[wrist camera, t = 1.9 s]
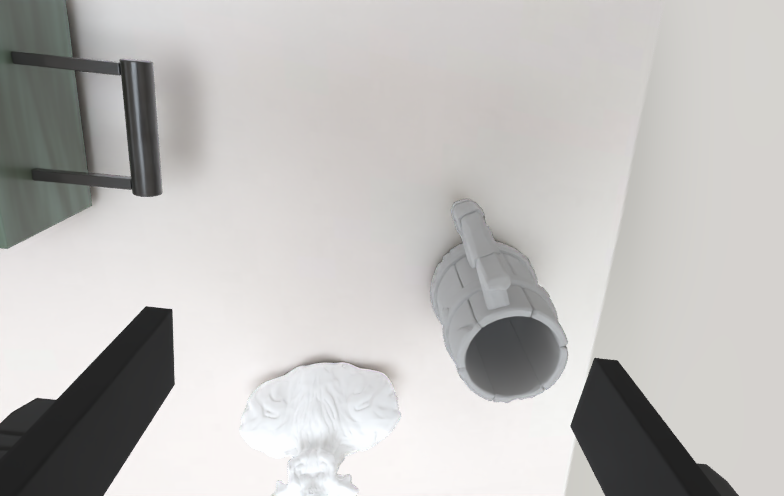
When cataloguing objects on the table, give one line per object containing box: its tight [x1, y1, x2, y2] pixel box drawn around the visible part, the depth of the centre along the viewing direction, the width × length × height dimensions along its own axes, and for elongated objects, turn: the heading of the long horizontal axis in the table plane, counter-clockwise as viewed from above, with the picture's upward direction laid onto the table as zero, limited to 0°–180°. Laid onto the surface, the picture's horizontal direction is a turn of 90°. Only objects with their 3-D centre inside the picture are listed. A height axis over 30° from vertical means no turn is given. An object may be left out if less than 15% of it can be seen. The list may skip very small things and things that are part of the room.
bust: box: [240, 362, 401, 496], centre depth 35 cm, size 12×8×11 cm
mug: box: [430, 199, 568, 403], centre depth 30 cm, size 8×12×12 cm, turn 17°
